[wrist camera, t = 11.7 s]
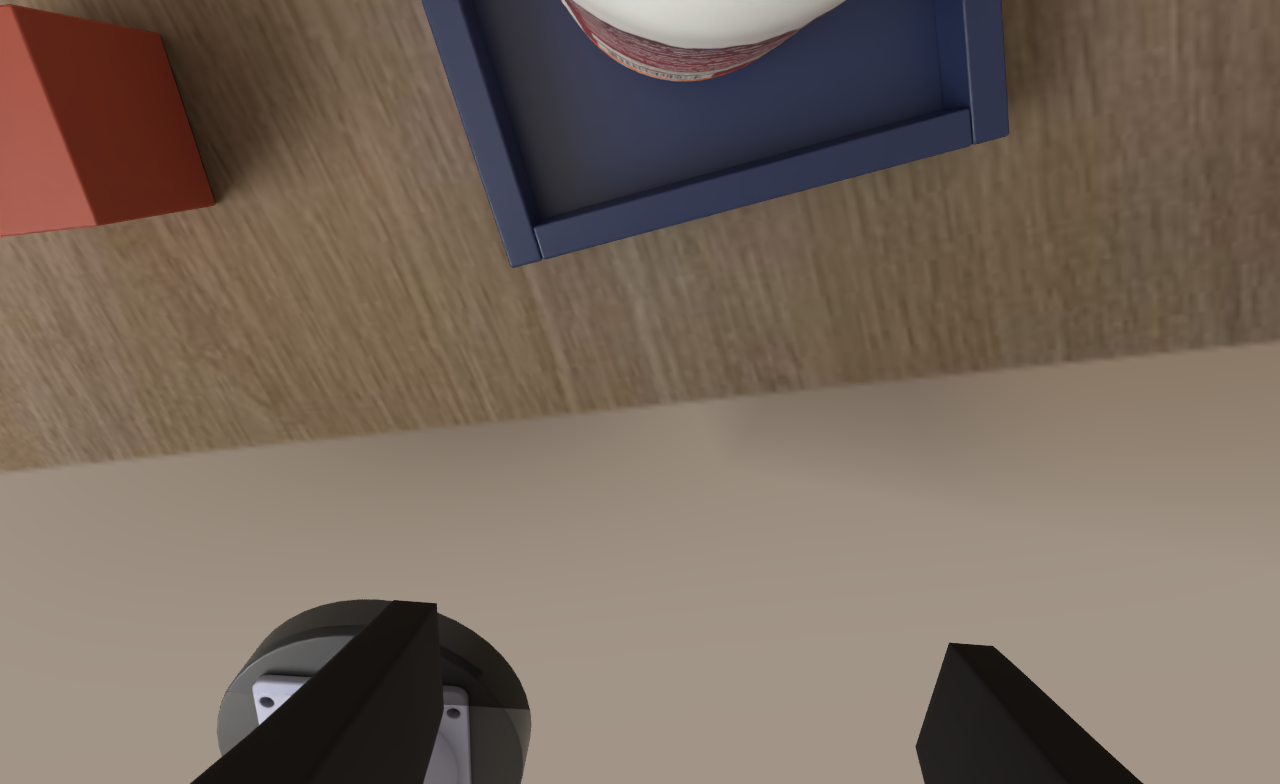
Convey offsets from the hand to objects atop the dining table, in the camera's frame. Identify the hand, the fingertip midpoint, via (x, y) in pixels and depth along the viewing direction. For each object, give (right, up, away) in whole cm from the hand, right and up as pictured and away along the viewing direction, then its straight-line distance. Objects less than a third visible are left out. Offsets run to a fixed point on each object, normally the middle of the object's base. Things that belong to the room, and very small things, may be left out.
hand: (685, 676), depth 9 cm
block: (-14, +11, +7) cm, 19 cm away
